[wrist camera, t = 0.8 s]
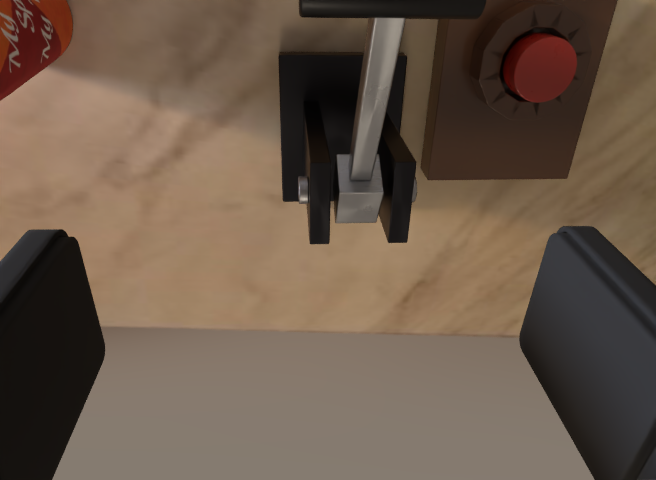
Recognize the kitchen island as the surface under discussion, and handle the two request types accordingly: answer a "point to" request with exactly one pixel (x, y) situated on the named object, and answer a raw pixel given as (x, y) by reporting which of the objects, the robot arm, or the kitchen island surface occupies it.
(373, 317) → the kitchen island surface
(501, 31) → the button block
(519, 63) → the button
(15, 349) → the robot arm
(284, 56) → the bracket
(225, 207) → the kitchen island surface
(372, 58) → the tap lever
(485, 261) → the kitchen island surface
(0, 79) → the paper cup
